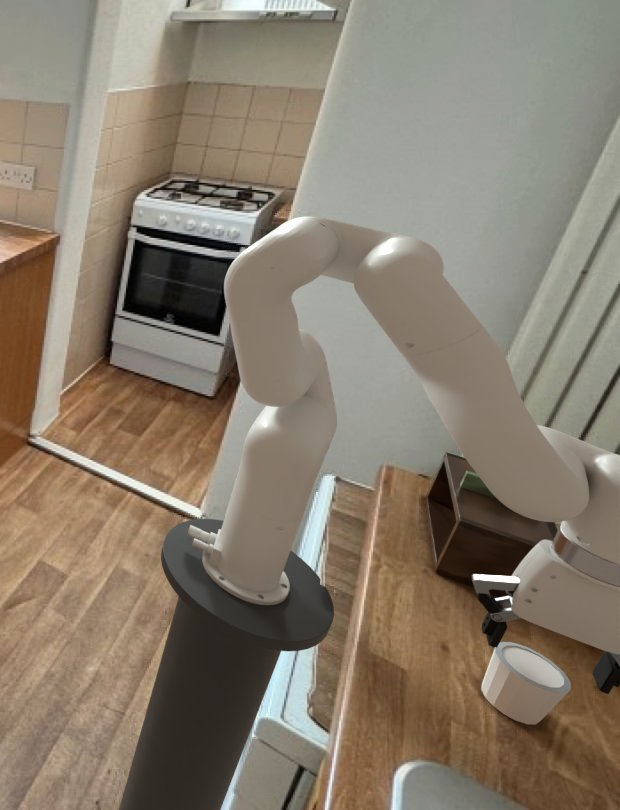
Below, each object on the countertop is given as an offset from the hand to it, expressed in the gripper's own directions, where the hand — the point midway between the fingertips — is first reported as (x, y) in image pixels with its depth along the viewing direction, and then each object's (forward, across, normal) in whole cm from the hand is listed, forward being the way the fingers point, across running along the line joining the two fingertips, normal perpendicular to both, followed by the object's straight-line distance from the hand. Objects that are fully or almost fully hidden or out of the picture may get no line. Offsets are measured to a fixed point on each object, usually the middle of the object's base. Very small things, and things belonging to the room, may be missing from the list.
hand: (542, 660), depth 76 cm
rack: (+8, +1, -33) cm, 34 cm away
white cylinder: (+9, +1, 0) cm, 9 cm away
